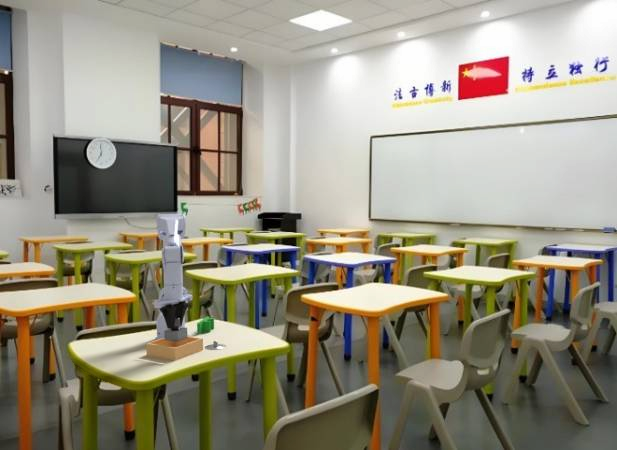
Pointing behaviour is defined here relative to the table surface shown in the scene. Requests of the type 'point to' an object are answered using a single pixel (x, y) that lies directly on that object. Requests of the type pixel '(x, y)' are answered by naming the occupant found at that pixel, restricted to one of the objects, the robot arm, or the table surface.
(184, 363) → the table surface
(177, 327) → the grey stepped block
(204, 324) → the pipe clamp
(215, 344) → the stud plate
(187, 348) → the bin
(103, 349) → the table surface
